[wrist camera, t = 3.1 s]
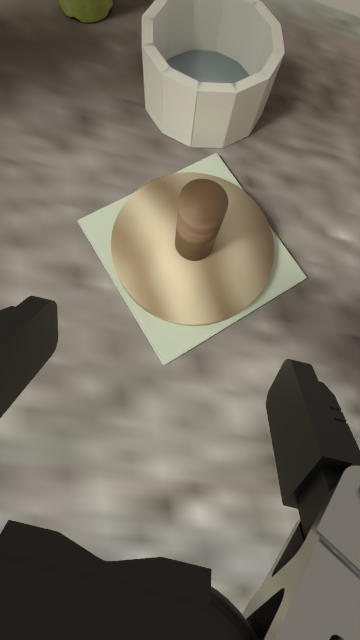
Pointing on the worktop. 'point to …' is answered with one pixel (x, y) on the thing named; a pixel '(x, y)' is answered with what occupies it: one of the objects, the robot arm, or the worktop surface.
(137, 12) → the worktop surface
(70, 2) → the plant pot
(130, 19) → the worktop surface
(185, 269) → the lid
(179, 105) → the bowl
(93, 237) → the mat
